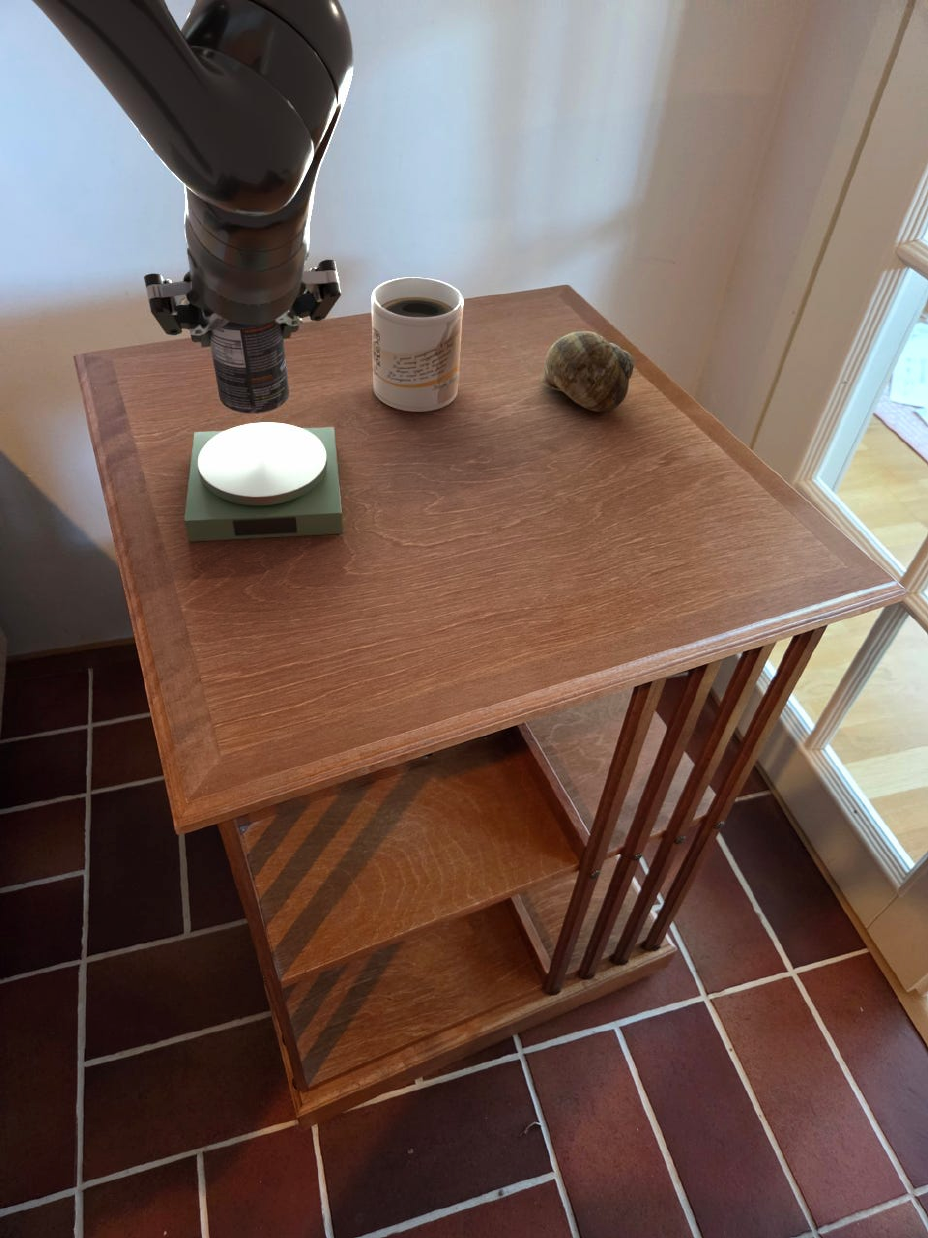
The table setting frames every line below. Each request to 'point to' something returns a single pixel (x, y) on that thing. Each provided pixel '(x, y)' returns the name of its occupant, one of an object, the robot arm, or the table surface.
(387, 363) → the mug
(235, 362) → the pill bottle
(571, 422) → the table surface
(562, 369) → the seashell
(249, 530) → the scale
